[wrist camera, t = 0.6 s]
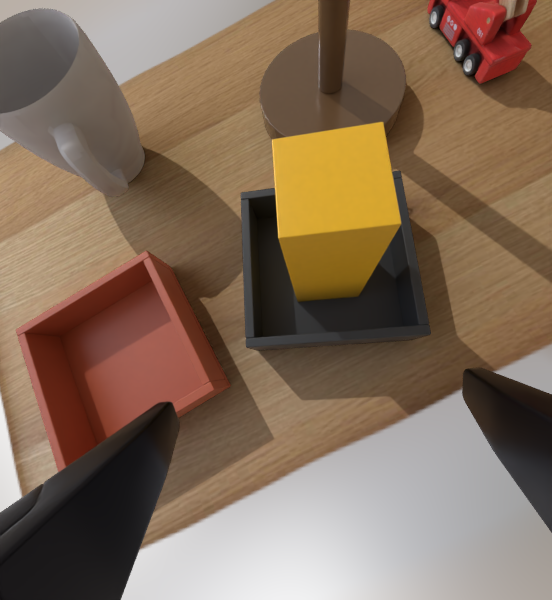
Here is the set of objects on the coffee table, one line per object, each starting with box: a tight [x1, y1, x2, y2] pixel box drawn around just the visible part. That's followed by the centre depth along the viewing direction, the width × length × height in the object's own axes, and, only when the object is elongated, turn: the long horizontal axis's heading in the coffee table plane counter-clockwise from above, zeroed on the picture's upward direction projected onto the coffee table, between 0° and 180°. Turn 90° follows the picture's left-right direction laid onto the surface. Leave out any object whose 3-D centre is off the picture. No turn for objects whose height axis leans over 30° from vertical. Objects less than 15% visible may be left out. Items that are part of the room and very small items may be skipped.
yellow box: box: [272, 122, 401, 302], centre depth 16 cm, size 4×4×11 cm
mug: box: [0, 9, 145, 197], centre depth 22 cm, size 12×9×10 cm
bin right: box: [241, 171, 431, 351], centre depth 21 cm, size 11×11×4 cm
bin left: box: [16, 251, 231, 472], centre depth 21 cm, size 11×11×4 cm
